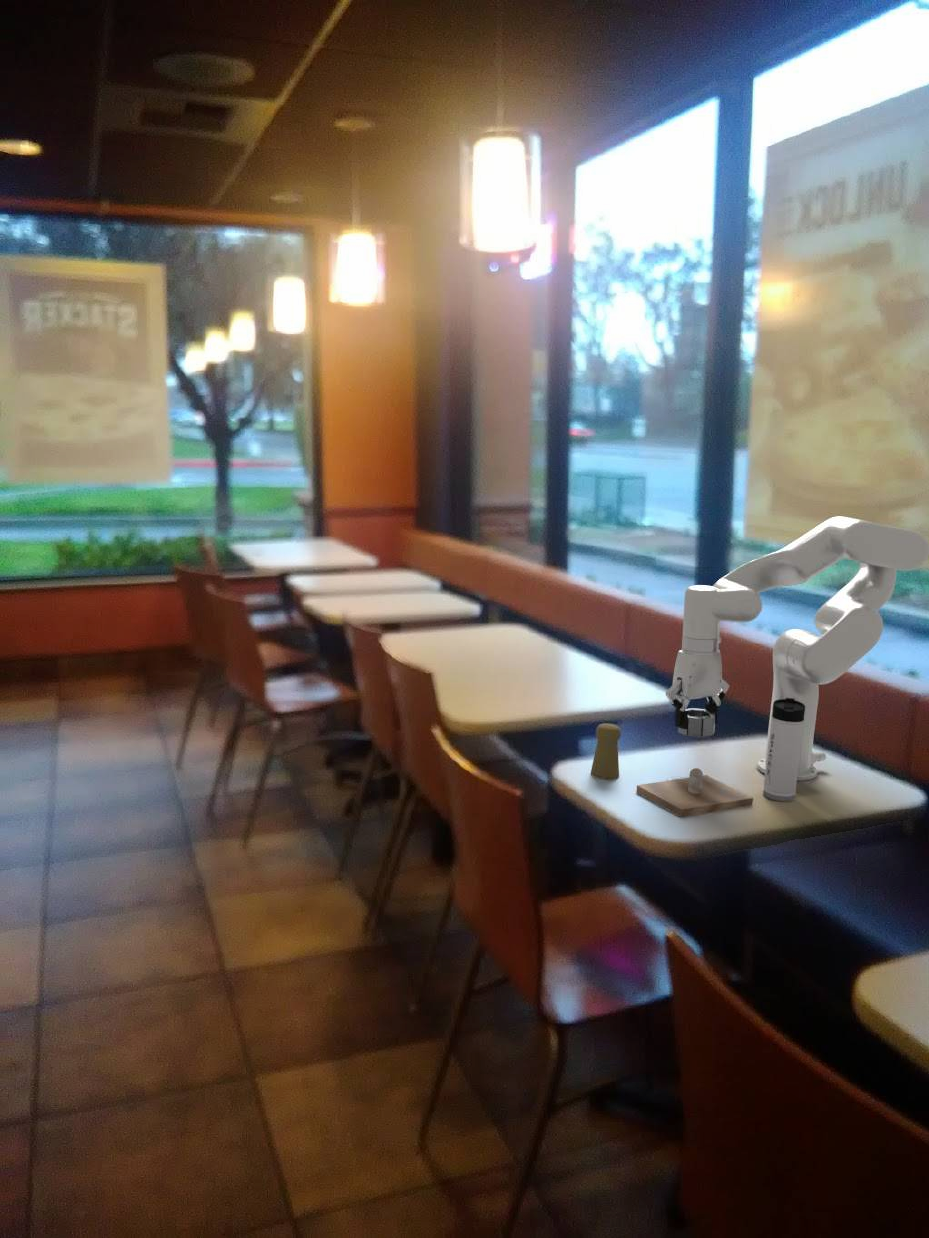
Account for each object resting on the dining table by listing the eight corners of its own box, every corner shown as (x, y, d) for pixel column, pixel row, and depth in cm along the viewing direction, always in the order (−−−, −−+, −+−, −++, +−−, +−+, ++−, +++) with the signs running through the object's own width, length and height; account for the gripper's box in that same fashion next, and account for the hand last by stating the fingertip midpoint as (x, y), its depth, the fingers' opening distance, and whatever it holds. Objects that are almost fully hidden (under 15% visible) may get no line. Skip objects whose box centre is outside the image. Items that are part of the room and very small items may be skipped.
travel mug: (795, 793, 211) (806, 699, 207) (794, 803, 205) (805, 707, 201) (763, 788, 213) (774, 695, 209) (762, 798, 207) (772, 703, 203)
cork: (618, 781, 213) (622, 730, 211) (589, 777, 214) (593, 727, 212) (620, 771, 219) (624, 722, 217) (591, 768, 220) (595, 719, 218)
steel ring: (698, 724, 224) (699, 706, 223) (721, 733, 217) (722, 715, 217) (671, 729, 221) (671, 711, 220) (693, 738, 214) (694, 720, 213)
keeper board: (705, 781, 215) (708, 753, 214) (752, 804, 203) (755, 774, 202) (636, 792, 207) (639, 762, 206) (681, 817, 195) (684, 785, 194)
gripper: (720, 637, 222) (715, 715, 226) (656, 644, 215) (652, 725, 218) (744, 644, 216) (739, 724, 219) (679, 652, 208) (674, 735, 212)
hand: (695, 724), depth 219 cm, fingers closed on steel ring, 7 cm apart
